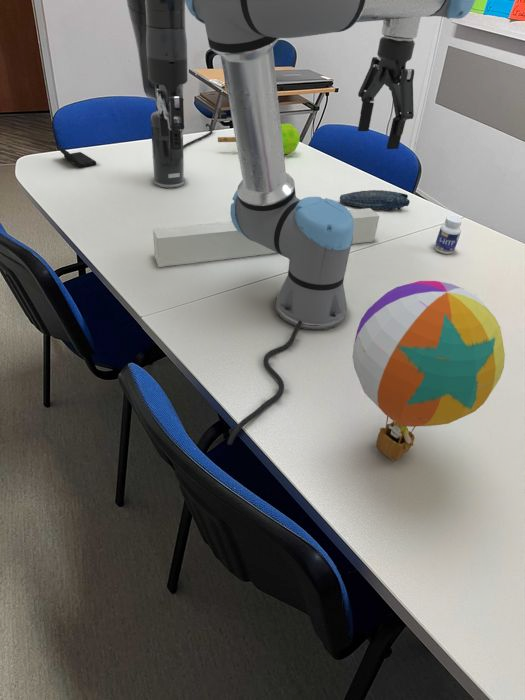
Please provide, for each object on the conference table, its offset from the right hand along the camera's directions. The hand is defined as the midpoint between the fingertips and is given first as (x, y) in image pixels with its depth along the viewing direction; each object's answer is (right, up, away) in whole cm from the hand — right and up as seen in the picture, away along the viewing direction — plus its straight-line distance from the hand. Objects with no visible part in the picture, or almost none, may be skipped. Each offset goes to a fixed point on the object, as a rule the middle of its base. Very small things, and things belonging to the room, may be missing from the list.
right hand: (377, 139), depth 125 cm
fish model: (+6, -7, +35) cm, 36 cm away
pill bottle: (+21, -24, +15) cm, 35 cm away
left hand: (-47, -8, -17) cm, 51 cm away
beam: (-26, -25, +8) cm, 37 cm away
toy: (-7, -67, -42) cm, 80 cm away
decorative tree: (-29, +21, +65) cm, 74 cm away
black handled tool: (-89, +11, +45) cm, 100 cm away
